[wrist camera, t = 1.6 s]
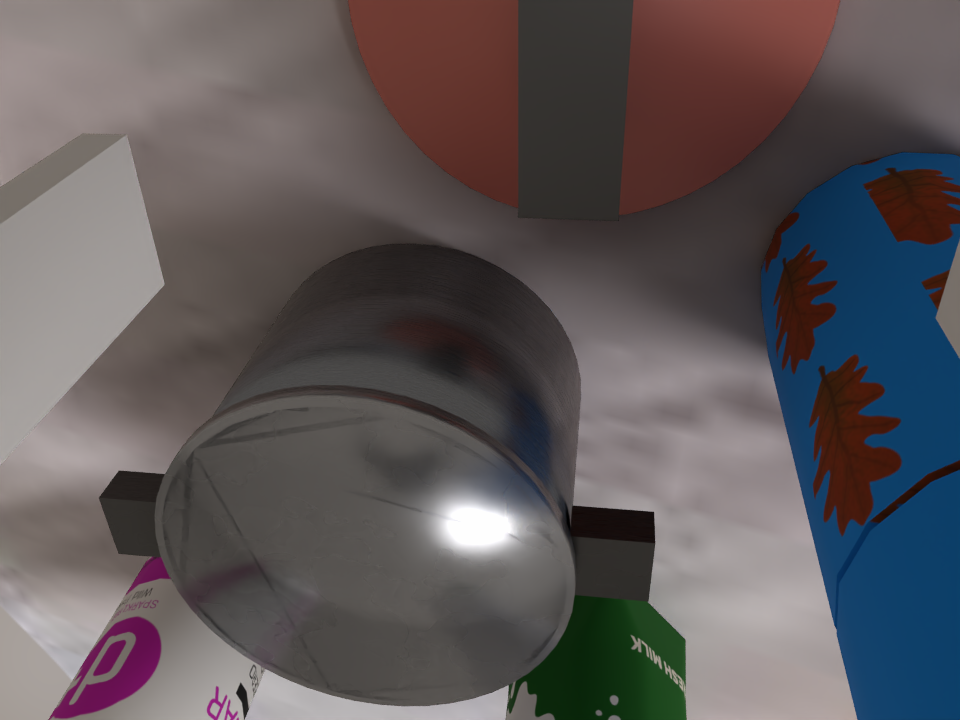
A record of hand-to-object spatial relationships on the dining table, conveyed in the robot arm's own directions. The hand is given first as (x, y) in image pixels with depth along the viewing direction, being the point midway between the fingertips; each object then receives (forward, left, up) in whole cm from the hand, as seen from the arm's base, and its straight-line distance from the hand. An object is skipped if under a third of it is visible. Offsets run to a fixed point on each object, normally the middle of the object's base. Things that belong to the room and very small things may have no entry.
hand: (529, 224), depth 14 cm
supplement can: (+19, +31, -21) cm, 42 cm away
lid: (0, 0, -21) cm, 21 cm away
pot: (+7, +18, -21) cm, 28 cm away
